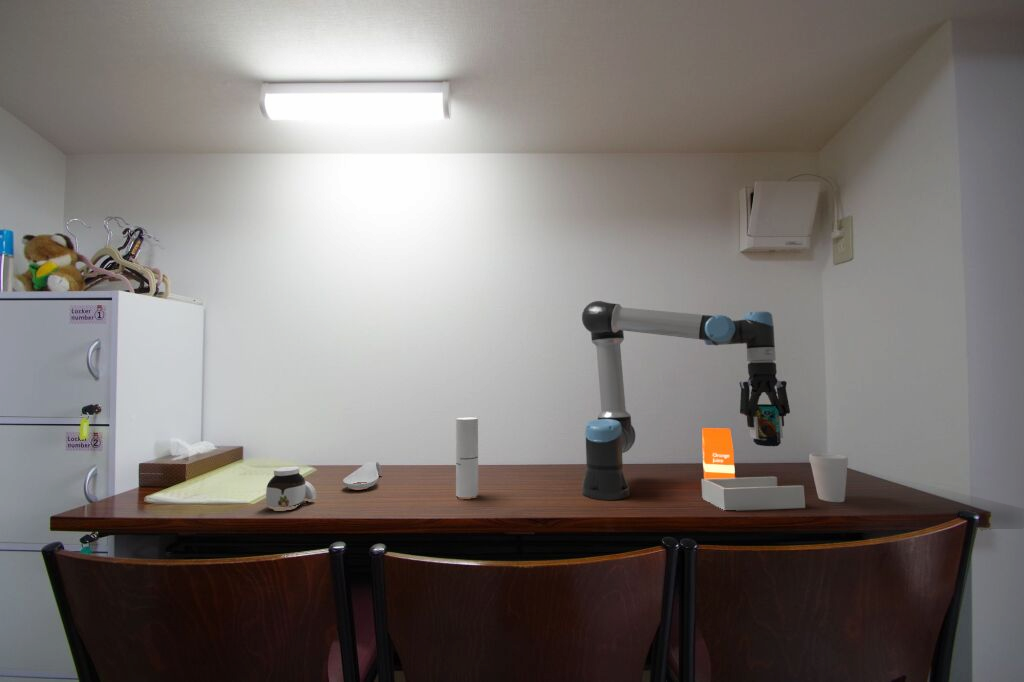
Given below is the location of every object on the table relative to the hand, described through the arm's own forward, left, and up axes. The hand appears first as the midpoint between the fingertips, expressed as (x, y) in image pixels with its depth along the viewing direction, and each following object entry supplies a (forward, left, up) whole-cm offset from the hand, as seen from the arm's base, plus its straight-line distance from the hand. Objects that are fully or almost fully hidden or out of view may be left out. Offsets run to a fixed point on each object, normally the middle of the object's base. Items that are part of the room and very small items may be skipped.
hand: (766, 437), depth 127 cm
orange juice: (-6, +17, -19) cm, 26 cm away
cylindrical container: (-91, +17, -19) cm, 94 cm away
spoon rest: (-128, +38, -20) cm, 135 cm away
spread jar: (-144, +13, -19) cm, 146 cm away
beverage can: (0, 0, -2) cm, 2 cm away
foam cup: (+20, +1, -19) cm, 28 cm away
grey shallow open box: (-6, 0, -19) cm, 20 cm away
